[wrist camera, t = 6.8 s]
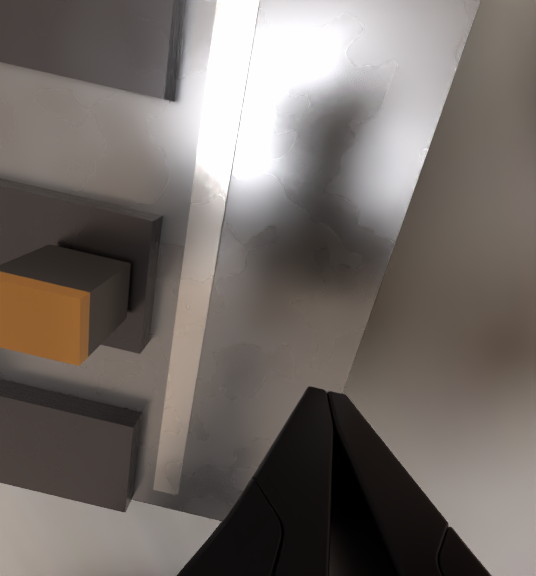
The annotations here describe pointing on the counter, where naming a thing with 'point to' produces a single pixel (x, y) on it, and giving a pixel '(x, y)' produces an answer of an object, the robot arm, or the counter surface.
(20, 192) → the breaker panel
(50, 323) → the block
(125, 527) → the counter surface
